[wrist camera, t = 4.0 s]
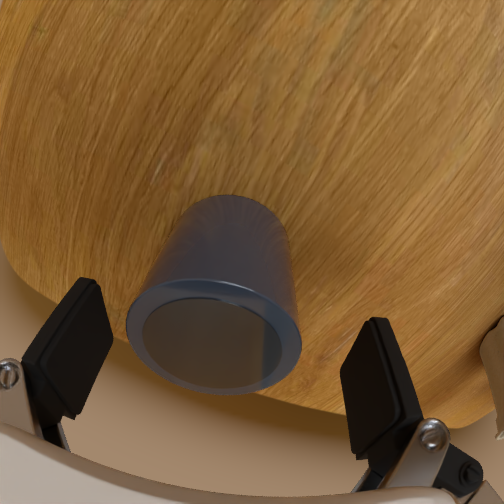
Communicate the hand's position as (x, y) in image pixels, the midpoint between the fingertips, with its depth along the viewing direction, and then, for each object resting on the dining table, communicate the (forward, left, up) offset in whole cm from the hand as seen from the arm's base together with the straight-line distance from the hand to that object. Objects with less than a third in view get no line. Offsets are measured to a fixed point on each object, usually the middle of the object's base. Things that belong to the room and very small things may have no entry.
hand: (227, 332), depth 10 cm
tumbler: (0, 0, -5) cm, 5 cm away
